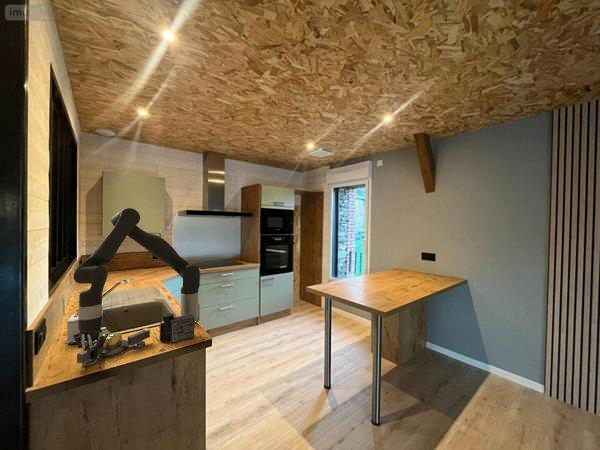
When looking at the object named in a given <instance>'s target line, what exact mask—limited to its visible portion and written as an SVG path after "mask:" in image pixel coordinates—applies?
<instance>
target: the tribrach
mask: <svg viewBox="0 0 600 450" xmlns="http://www.w3.org/2000/svg"><path fill="white" fill-rule="evenodd" d="M144 347H146V341H145V340H142V343H141V344H133V345H128V339H123V333H122V332H111V334H108V337H107V339H106V341H105V343H104V345H103V352H102V353H100V354H98V357H97V358H95V359H94V360H92V361H86V362H84V363H81V367H82V368H90V367H92V366H95V365H97V364H98V363H99V361H101V360H102V359H107V358H112V357H116V356H119V355H121V354H123V353H125V352H126V351H127V350H132V349H133V350H138V349H142V348H144Z"/></svg>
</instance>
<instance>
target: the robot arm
mask: <svg viewBox="0 0 600 450" xmlns="http://www.w3.org/2000/svg"><path fill="white" fill-rule="evenodd" d="M110 220H111V224H112V226H113V229H111V231H110V232H109V233H108V234H107V235H106V236H104V237H105V238H103V240H101V242H100V243H99V244H98V245H97V247H96V248H95V250H94V251H93V253H92V254H91V255H90V256H89V257H88V258H87V259H85V260H84V261H83V262H82V263H81V264H79V266H77V268H75V271H74V273H73V280H74V282H75V283H77V284H80V285H81V284H83V285H85V284H87V285H88V284H90V288H87V289H85V290H81V291H80V292H79V295H78V300H79V301H78V311H77V312H78V313H77V314H78V329H79V330H80V332H79V333H76V334H74V335H73V337H74V339H75V343H76V346H77V348H78V349H81V351H84V350H86V349H88V348H90V347H91V360H94V359H95V358H97V357H98V349H99V348H101V347H103V345H104V343H105V341H106V339H107V337H108V334H103V333H102V330H101V328H102V327H103V324H104V319H103V317H104V315H103V314H104V306H103V291H104V288H105V285H106V282H107V280H108V275H109V274H108V270H107V268H106V267H105V266H107V265H108V264H110V263H111V262H112V260H113V259H114V257H115V256H116V254H117V252H118V250H119V249H120V247H121V245H122V244H123V242H124V241H125V239H126V238H127V237H129V238H130V239H132V240H133V241H134V242H136V243H137V244H138V245H140V246H141V247H142V248H144V249H145V250H146V251H147V252H149V253H150V254H151V255H152V256H153V257H155V258H157V259H158V260H159V261H161V262H163V263H164V264H166V265H168V266H169V267H170V268H171V269H173V271H175V272H176V273H177V274H178V276H179V277H180V278H181V279H182V286H181V288H180V316H184V315H188V314H192V315H193V316H194V325H195V324H197V323H198V322H199V321H200V316H201V315H200V314H201V312H200V310H201V308H200V307H201V304H200V303H199V289H200V285H201V270H200V267H198V266H197V265H195V264H192V263H191V262H188V261H187V260H186V259H184V258H183V257H182V256H180V255H179V253H178V252H177V251H176V249H175V248H174V247H173V246H172V245H171V244H170V243H169V242H168V241H166V240H165V239H164V238H162V237H161V236H159V235H156V234H153V233H150V232H147V231H145V230H143V229H142V228H140V227H139V226H138V224H139V223H140V221H141V215H140V213H139V211H138V210H137V209H135V208H132V207H127V208H122V209H121V210H120V211H118V212H117V213H115V214H114V215H113V216H112V217H111V219H110ZM195 321H196V322H197V323H196V322H195ZM94 345H95V347H94Z"/></svg>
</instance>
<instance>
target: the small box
mask: <svg viewBox="0 0 600 450" xmlns="http://www.w3.org/2000/svg"><path fill="white" fill-rule="evenodd" d="M192 339H195V324H194V316H193V315H192V314H188V315H184V316H181V315H179V316H174V318H173V319H171V320H170V342H169V343H170V344H171V345H174V344H177V343H180V342H184V341H188V340H192Z"/></svg>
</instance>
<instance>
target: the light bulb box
mask: <svg viewBox="0 0 600 450" xmlns="http://www.w3.org/2000/svg"><path fill="white" fill-rule="evenodd" d="M66 323H67V325H66V328H67V329H66V336H67V337H66V338H67V339H66V344H67V345H70V344H71V343H70V342H74V341H75V339H74V337H73V335H74V334H76V333H79V332H80V330H79V329H78V313H74V314H71V315H70V317H69V319H68V320H67V321H66ZM69 343H70V344H69Z"/></svg>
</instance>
